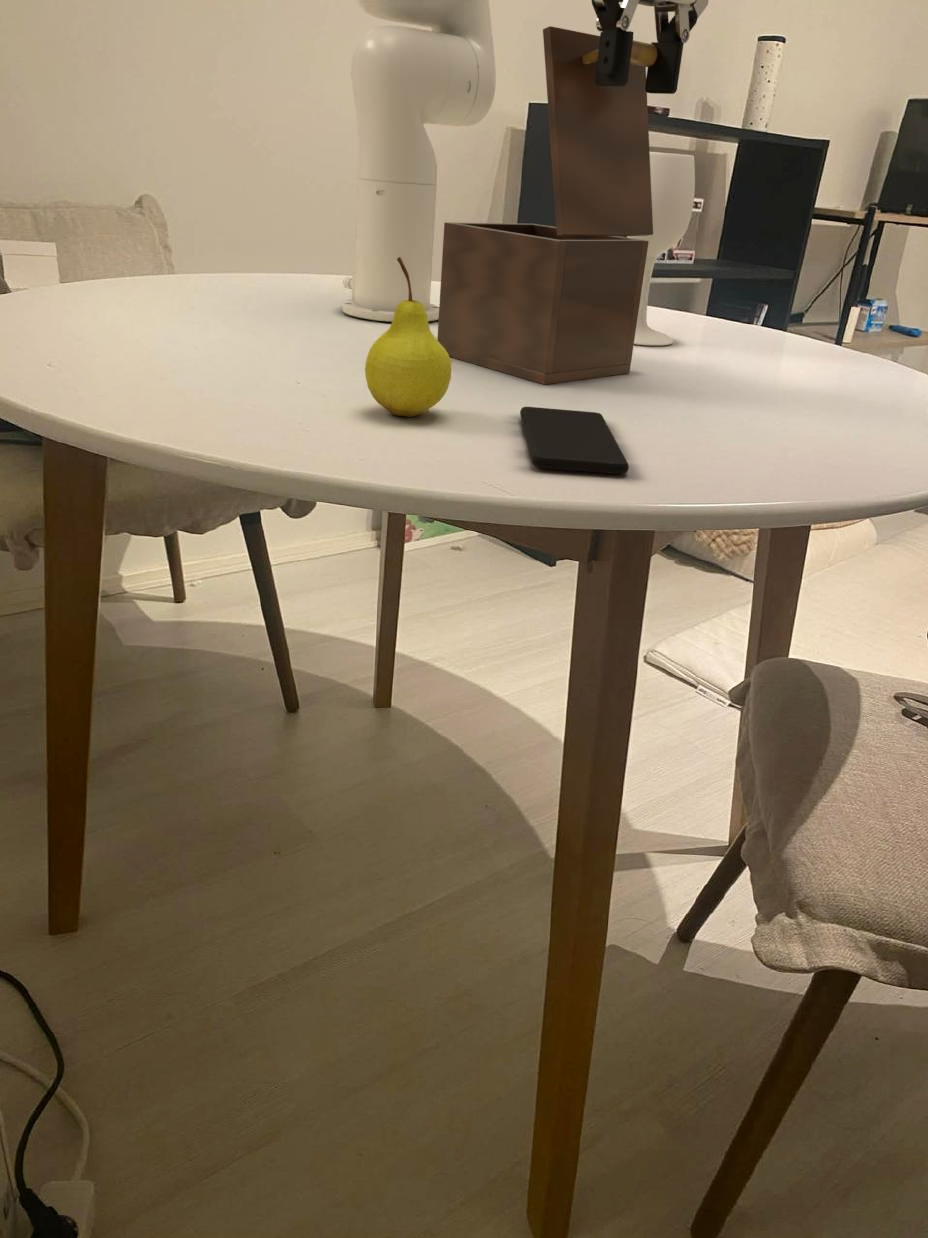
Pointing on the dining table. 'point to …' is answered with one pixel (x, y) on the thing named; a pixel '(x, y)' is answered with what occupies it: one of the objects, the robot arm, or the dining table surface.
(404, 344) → the fruit
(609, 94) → the lid
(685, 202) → the wineglass
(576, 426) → the smartphone
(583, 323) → the chest
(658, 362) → the dining table surface
